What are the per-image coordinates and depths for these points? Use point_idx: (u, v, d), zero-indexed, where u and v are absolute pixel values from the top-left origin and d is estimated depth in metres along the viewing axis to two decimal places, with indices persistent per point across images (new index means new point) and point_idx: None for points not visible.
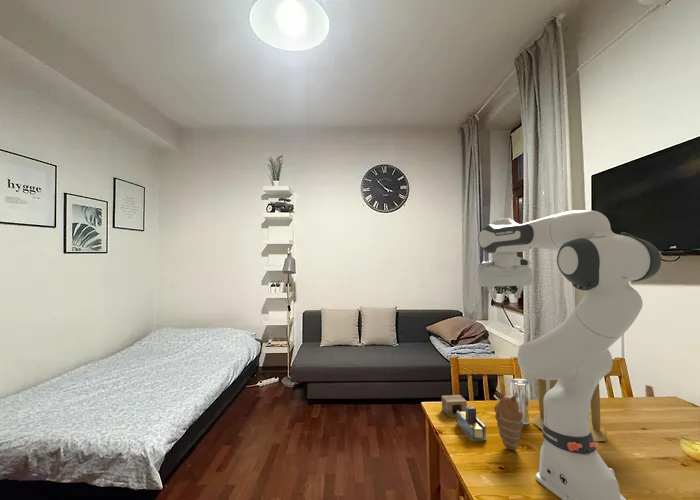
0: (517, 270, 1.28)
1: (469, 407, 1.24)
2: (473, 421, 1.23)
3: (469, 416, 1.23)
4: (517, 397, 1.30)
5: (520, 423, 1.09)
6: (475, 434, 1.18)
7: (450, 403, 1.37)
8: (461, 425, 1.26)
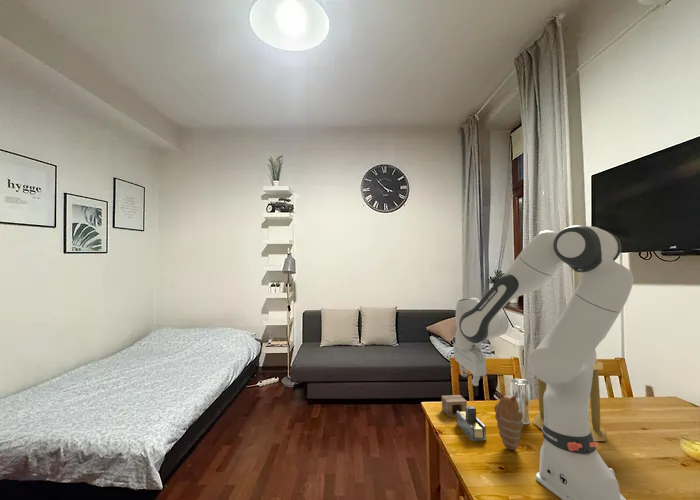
0: None
1: (469, 407, 1.24)
2: (473, 421, 1.23)
3: (469, 416, 1.23)
4: (517, 397, 1.30)
5: (520, 423, 1.09)
6: (475, 434, 1.18)
7: (450, 403, 1.37)
8: (461, 425, 1.26)
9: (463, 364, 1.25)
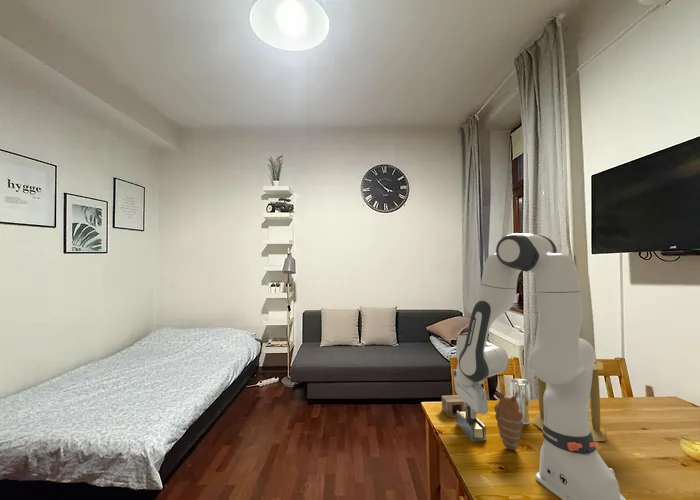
0: None
1: (469, 407, 1.24)
2: (473, 421, 1.23)
3: (469, 416, 1.23)
4: (517, 397, 1.30)
5: (520, 423, 1.09)
6: (475, 434, 1.18)
7: (450, 403, 1.37)
8: (461, 425, 1.26)
9: (464, 399, 1.25)
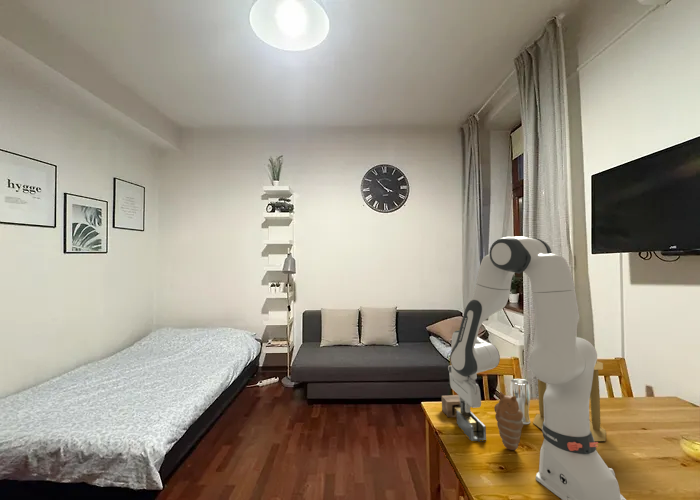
0: None
1: (464, 402, 1.29)
2: (467, 415, 1.28)
3: None
4: (517, 397, 1.30)
5: (520, 423, 1.09)
6: None
7: (450, 403, 1.37)
8: (461, 425, 1.26)
9: (459, 394, 1.30)
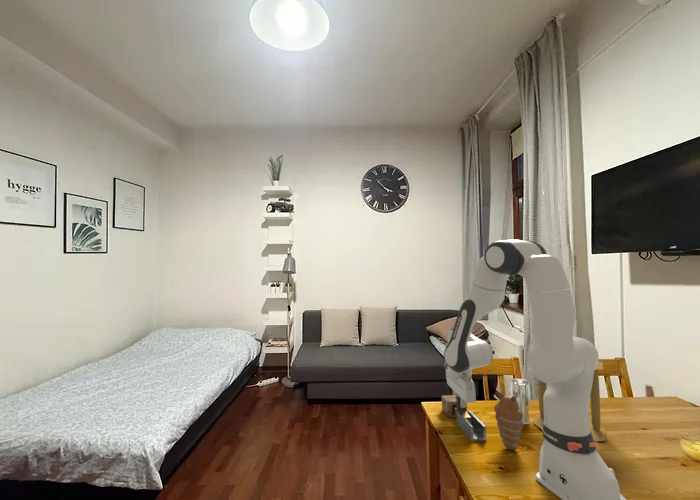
0: None
1: (459, 397, 1.33)
2: (463, 410, 1.32)
3: (459, 406, 1.32)
4: (517, 397, 1.30)
5: (520, 423, 1.09)
6: None
7: (450, 403, 1.37)
8: (461, 425, 1.26)
9: (454, 390, 1.34)
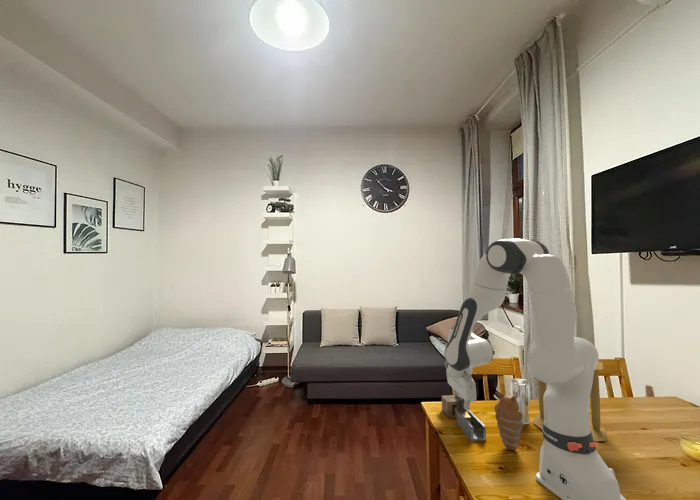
0: None
1: (459, 397, 1.33)
2: (463, 410, 1.32)
3: (459, 406, 1.32)
4: (517, 397, 1.30)
5: (520, 423, 1.09)
6: None
7: (450, 403, 1.37)
8: (461, 425, 1.26)
9: (455, 389, 1.34)
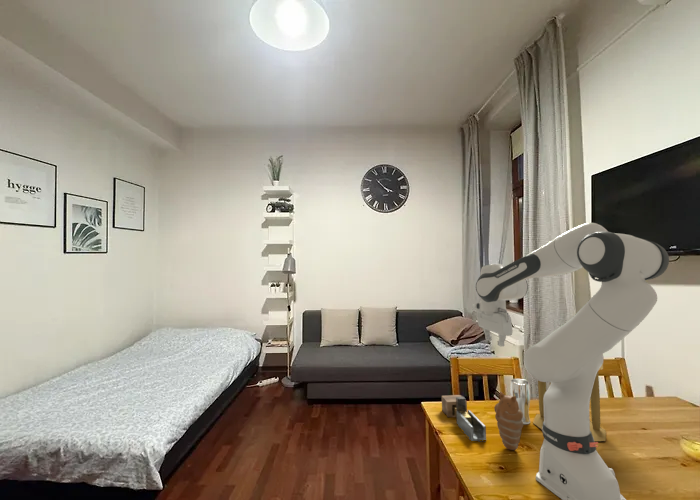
0: None
1: (459, 397, 1.33)
2: (463, 410, 1.32)
3: (459, 406, 1.32)
4: (517, 397, 1.30)
5: (520, 423, 1.09)
6: None
7: (450, 403, 1.37)
8: (461, 425, 1.26)
9: (488, 328, 1.31)
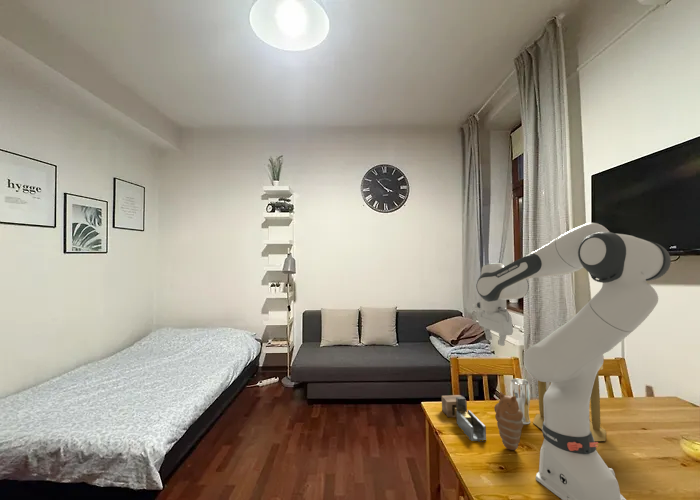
0: None
1: (459, 397, 1.33)
2: (463, 410, 1.32)
3: (459, 406, 1.32)
4: (517, 397, 1.30)
5: (520, 423, 1.09)
6: None
7: (450, 403, 1.37)
8: (461, 425, 1.26)
9: (488, 327, 1.31)
